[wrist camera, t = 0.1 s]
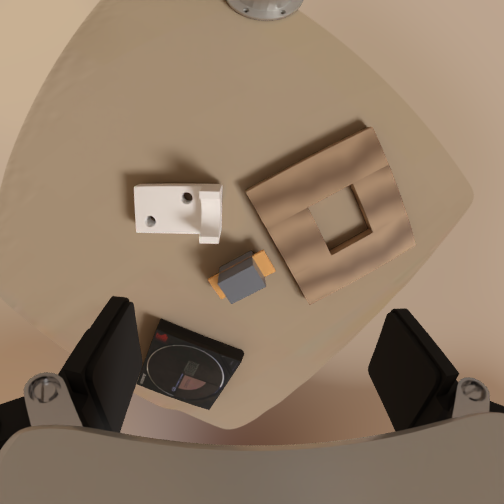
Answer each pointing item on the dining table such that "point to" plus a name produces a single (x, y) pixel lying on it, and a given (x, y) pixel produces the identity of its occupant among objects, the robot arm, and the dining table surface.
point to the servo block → (242, 276)
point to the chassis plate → (319, 187)
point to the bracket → (179, 210)
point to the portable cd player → (188, 365)
